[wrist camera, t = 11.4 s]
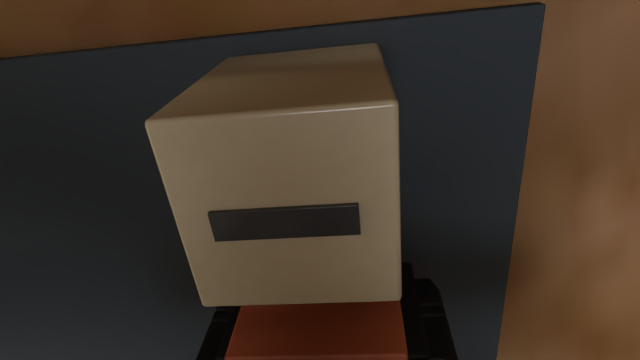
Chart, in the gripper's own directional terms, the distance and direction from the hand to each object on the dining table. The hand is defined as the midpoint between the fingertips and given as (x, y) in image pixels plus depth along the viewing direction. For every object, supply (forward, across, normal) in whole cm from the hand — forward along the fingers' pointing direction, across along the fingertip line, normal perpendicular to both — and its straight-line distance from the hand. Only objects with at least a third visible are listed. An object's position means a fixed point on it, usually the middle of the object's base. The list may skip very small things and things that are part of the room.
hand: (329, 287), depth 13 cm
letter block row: (+1, 0, 0) cm, 1 cm away
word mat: (+1, +8, 0) cm, 8 cm away
